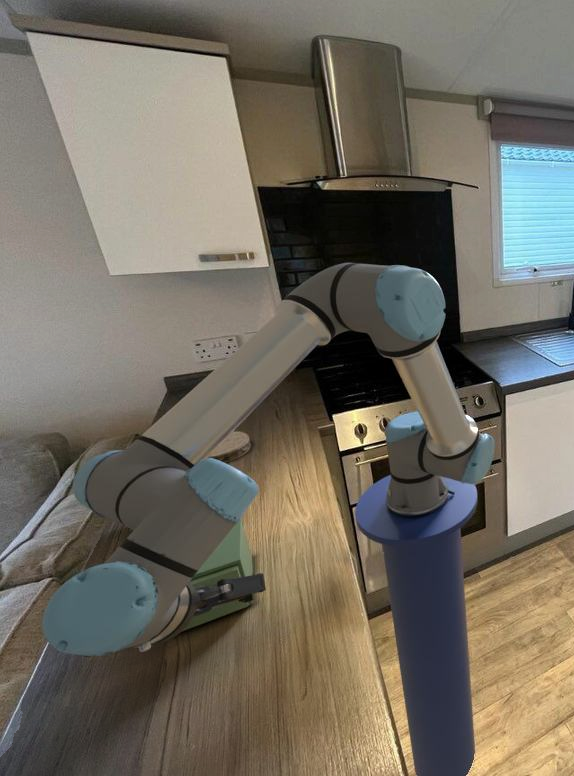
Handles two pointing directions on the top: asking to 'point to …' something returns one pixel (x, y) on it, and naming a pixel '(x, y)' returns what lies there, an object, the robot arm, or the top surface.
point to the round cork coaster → (232, 447)
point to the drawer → (211, 581)
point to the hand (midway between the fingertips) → (195, 612)
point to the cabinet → (230, 554)
